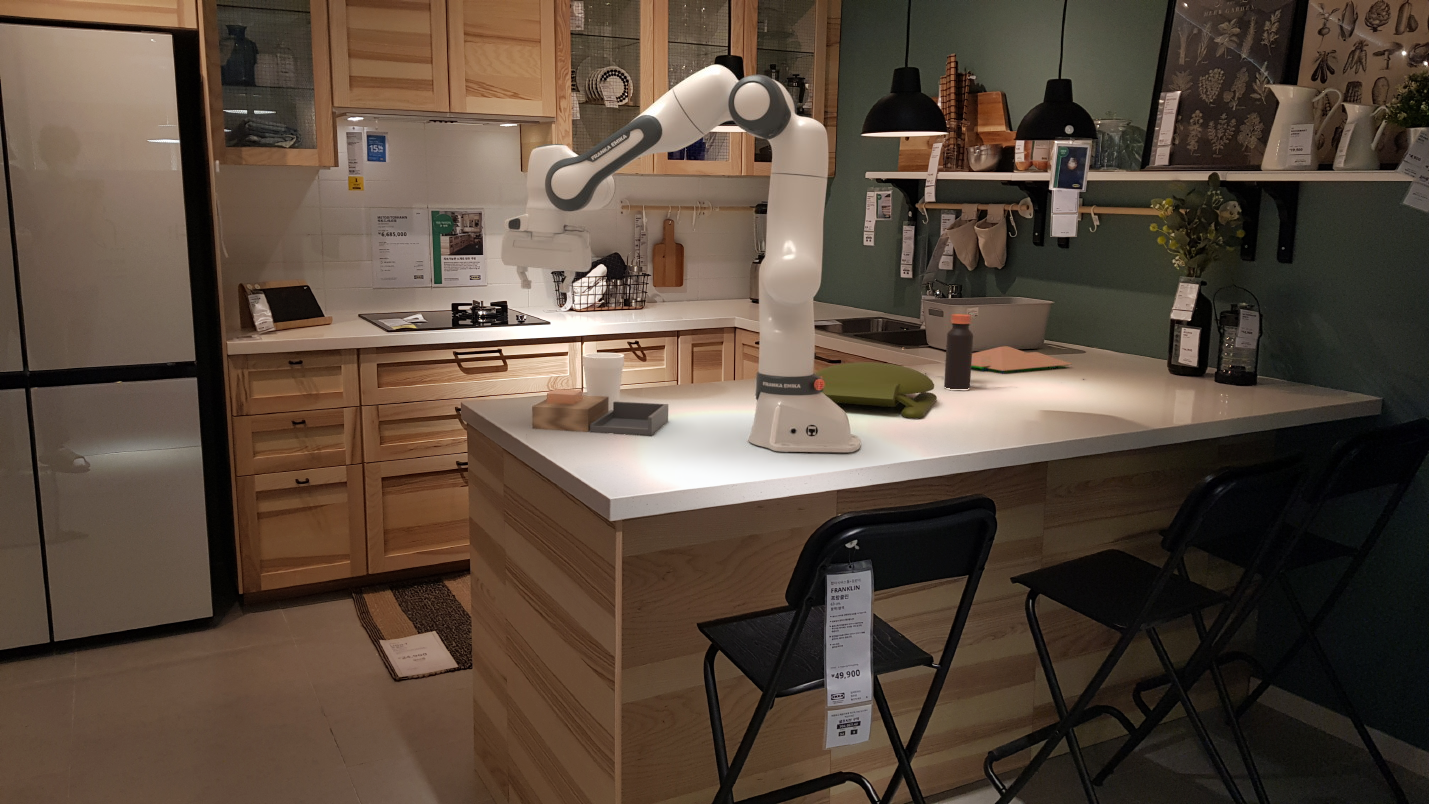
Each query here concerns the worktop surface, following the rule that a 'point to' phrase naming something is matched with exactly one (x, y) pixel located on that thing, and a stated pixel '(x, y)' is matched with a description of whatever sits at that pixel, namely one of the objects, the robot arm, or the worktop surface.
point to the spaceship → (878, 386)
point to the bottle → (959, 353)
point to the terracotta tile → (564, 396)
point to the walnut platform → (569, 414)
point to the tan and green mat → (1013, 360)
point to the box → (632, 419)
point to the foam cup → (603, 375)
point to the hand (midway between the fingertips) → (545, 290)
